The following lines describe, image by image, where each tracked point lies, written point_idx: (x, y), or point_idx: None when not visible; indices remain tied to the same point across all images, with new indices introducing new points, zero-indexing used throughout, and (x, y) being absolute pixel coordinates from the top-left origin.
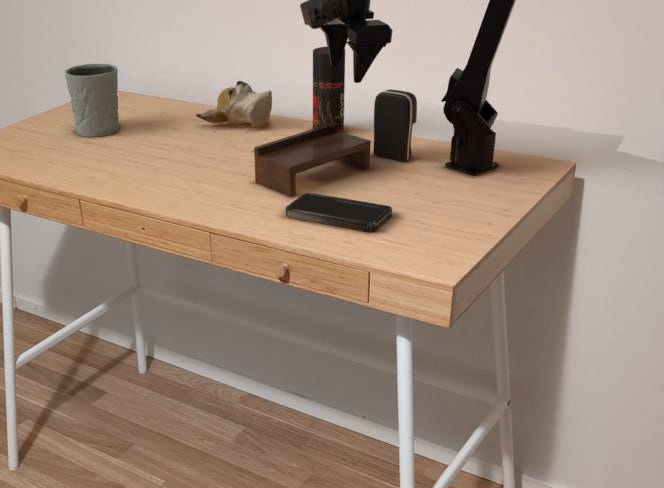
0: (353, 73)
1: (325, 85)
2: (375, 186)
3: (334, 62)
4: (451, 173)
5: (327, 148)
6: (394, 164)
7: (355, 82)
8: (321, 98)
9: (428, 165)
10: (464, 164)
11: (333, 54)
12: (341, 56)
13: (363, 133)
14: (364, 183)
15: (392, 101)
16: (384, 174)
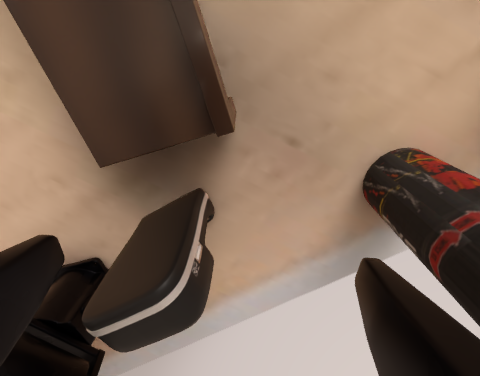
0: (4, 264)
1: (463, 226)
2: (25, 107)
3: (370, 289)
4: (68, 251)
5: (61, 17)
6: (141, 198)
7: (39, 236)
8: (443, 194)
9: (116, 241)
10: (60, 277)
11: (404, 335)
12: (372, 354)
13: (333, 230)
14: (48, 94)
15: (121, 294)
16: (92, 156)
